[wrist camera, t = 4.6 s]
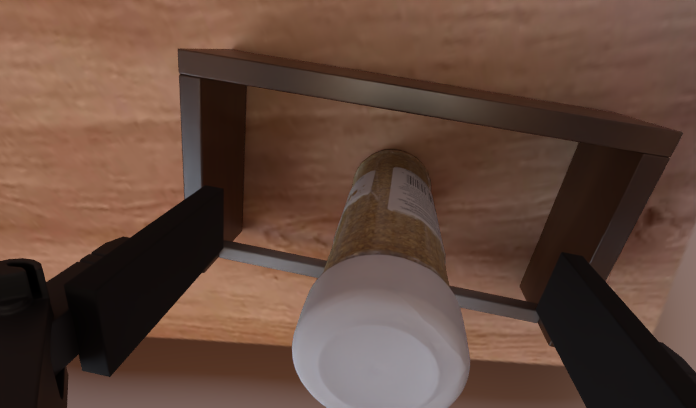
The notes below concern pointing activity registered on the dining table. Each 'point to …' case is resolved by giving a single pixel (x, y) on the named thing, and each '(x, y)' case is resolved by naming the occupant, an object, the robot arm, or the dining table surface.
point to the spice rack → (440, 102)
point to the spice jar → (384, 300)
